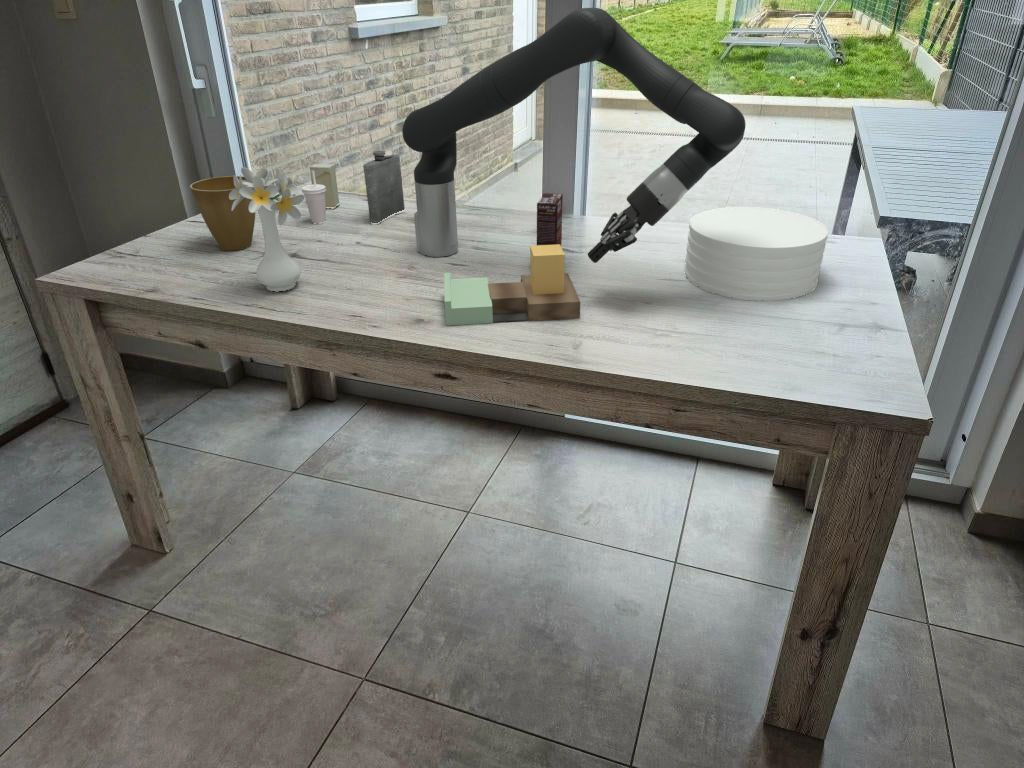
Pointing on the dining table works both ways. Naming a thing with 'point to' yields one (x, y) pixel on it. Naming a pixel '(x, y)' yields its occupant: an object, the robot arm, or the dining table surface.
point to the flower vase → (271, 223)
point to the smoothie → (315, 201)
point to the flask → (383, 186)
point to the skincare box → (326, 182)
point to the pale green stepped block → (467, 301)
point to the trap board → (532, 302)
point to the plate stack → (755, 252)
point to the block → (547, 269)
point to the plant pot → (224, 212)
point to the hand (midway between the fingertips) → (591, 259)
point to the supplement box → (549, 219)
